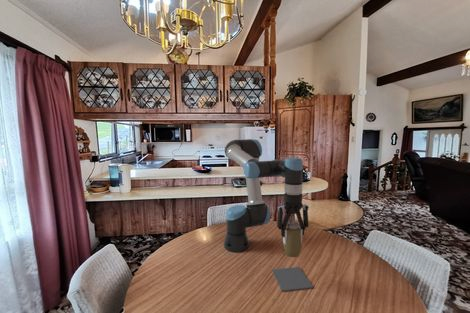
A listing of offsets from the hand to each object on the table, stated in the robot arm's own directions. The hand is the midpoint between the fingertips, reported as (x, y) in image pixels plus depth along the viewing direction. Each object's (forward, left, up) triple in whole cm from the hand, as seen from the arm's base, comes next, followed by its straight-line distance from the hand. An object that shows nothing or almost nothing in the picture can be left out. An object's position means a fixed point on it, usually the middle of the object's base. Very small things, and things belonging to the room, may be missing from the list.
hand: (292, 242), depth 96 cm
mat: (0, 0, -18) cm, 18 cm away
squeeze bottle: (0, 0, -6) cm, 6 cm away
